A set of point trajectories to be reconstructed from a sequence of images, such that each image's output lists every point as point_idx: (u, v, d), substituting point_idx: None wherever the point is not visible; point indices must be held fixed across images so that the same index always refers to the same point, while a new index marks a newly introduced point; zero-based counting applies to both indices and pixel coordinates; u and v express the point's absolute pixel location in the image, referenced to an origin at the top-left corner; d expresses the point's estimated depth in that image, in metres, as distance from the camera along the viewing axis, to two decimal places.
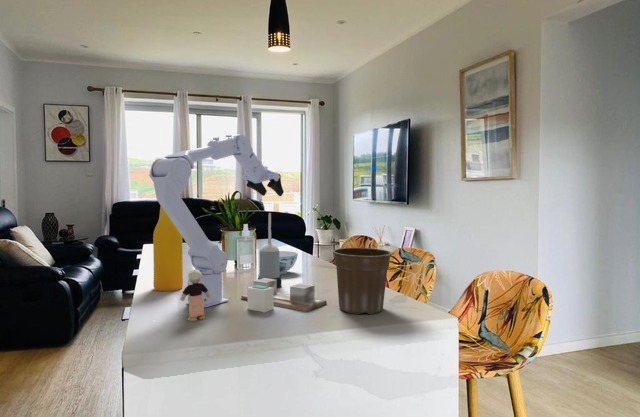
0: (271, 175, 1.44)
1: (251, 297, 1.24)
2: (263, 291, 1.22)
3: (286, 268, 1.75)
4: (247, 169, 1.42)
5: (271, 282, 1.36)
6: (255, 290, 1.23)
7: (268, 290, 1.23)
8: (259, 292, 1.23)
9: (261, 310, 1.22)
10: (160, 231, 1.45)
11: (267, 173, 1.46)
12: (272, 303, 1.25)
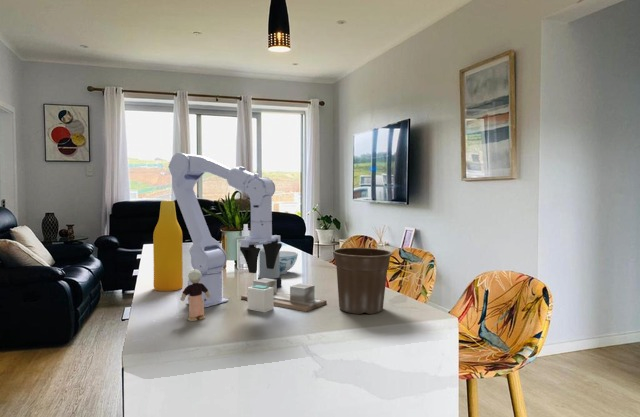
0: None
1: (251, 297, 1.24)
2: (263, 291, 1.22)
3: (286, 268, 1.75)
4: None
5: (271, 282, 1.36)
6: (255, 290, 1.23)
7: (268, 290, 1.23)
8: (259, 292, 1.23)
9: (261, 310, 1.22)
10: (160, 231, 1.45)
11: (256, 239, 1.22)
12: (272, 303, 1.25)
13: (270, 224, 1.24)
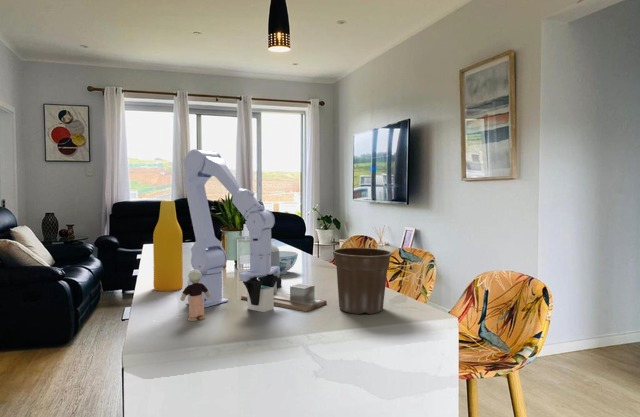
0: None
1: None
2: (263, 291, 1.22)
3: (286, 268, 1.75)
4: None
5: None
6: None
7: (268, 290, 1.23)
8: None
9: (261, 310, 1.22)
10: (160, 231, 1.45)
11: (255, 272, 1.22)
12: (272, 303, 1.25)
13: (269, 257, 1.24)
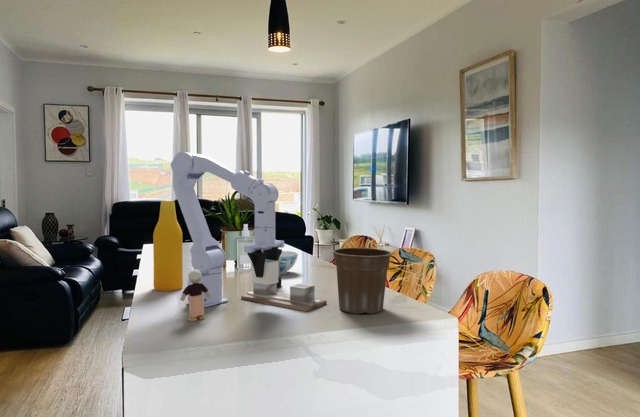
0: None
1: None
2: (268, 264, 1.23)
3: (286, 268, 1.75)
4: None
5: None
6: None
7: (273, 263, 1.24)
8: (264, 265, 1.24)
9: (266, 283, 1.23)
10: (160, 231, 1.45)
11: (260, 244, 1.23)
12: (277, 276, 1.26)
13: (273, 230, 1.25)
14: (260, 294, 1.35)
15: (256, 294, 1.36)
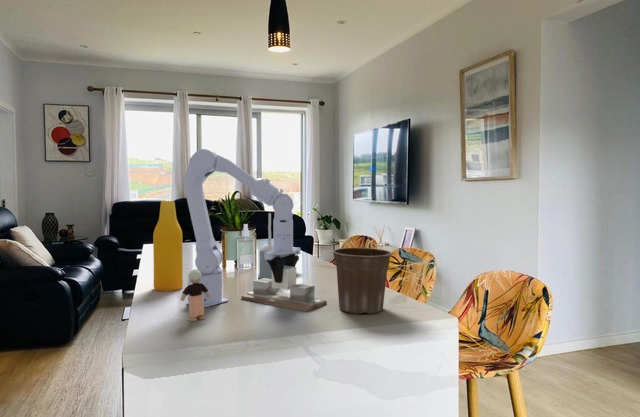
0: None
1: None
2: (287, 270, 1.30)
3: None
4: (273, 232, 1.32)
5: (271, 282, 1.36)
6: None
7: (291, 269, 1.31)
8: (283, 271, 1.31)
9: (285, 288, 1.30)
10: (160, 231, 1.45)
11: (279, 252, 1.30)
12: (295, 282, 1.33)
13: (291, 238, 1.32)
14: (260, 294, 1.35)
15: (256, 294, 1.36)
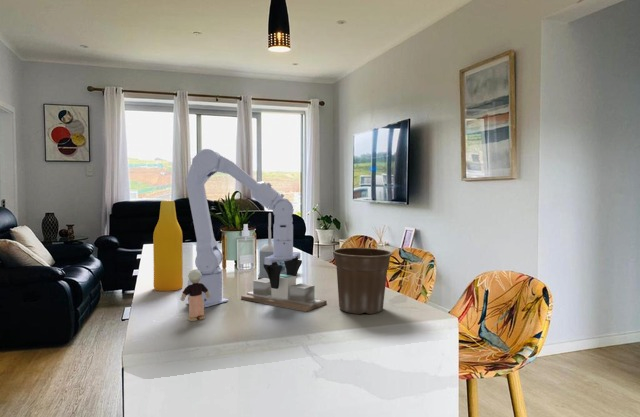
0: None
1: None
2: (287, 279, 1.30)
3: None
4: (273, 236, 1.32)
5: None
6: (279, 278, 1.31)
7: (291, 278, 1.31)
8: (283, 280, 1.31)
9: (285, 297, 1.30)
10: (160, 231, 1.45)
11: (279, 257, 1.30)
12: None
13: (291, 243, 1.32)
14: (260, 294, 1.35)
15: (256, 294, 1.36)
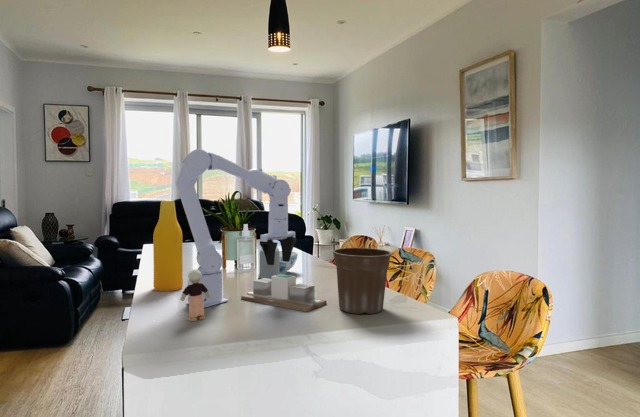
0: None
1: (275, 285, 1.32)
2: (287, 279, 1.30)
3: (286, 268, 1.75)
4: (270, 216, 1.37)
5: None
6: (279, 278, 1.31)
7: (291, 278, 1.31)
8: (283, 280, 1.31)
9: (285, 297, 1.30)
10: (160, 231, 1.45)
11: (274, 234, 1.36)
12: None
13: (286, 221, 1.38)
14: (260, 294, 1.35)
15: (256, 294, 1.36)
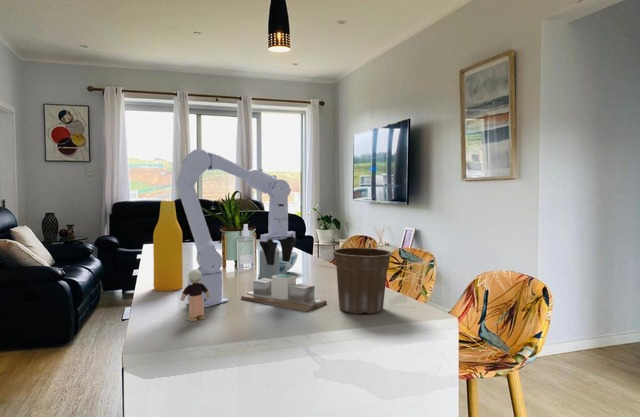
0: None
1: (275, 285, 1.32)
2: (287, 279, 1.30)
3: (286, 268, 1.75)
4: (270, 216, 1.37)
5: None
6: (279, 278, 1.31)
7: (291, 278, 1.31)
8: (283, 280, 1.31)
9: (285, 297, 1.30)
10: (160, 231, 1.45)
11: (274, 234, 1.36)
12: None
13: (286, 221, 1.38)
14: (260, 294, 1.35)
15: (256, 294, 1.36)
